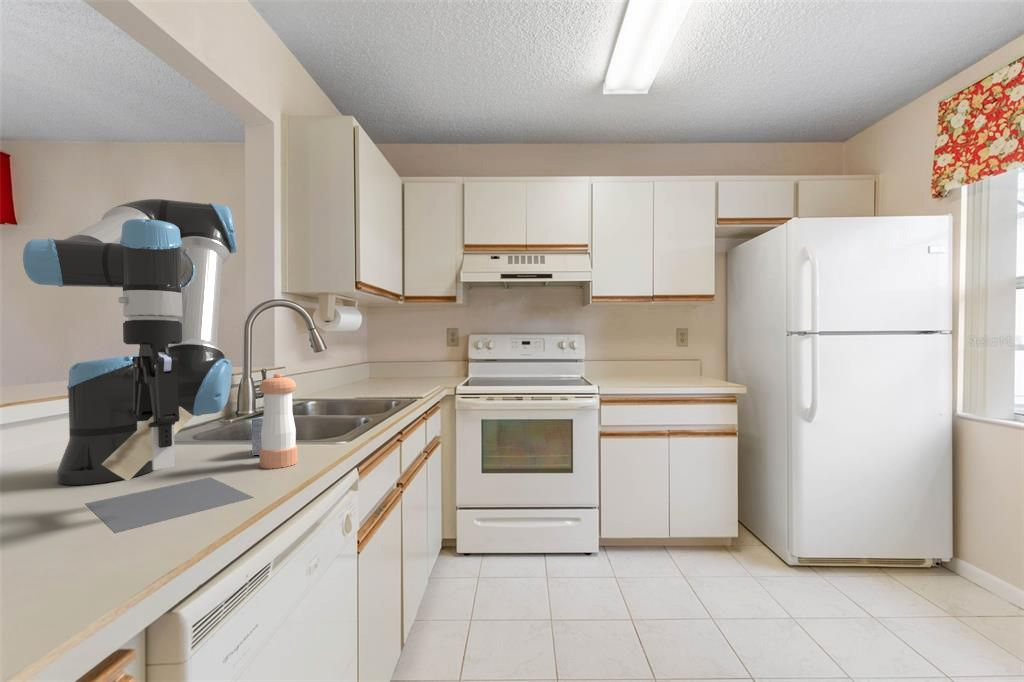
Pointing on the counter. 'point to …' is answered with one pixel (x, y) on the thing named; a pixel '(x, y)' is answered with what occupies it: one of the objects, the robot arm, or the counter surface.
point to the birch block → (138, 449)
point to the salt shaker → (278, 423)
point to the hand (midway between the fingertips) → (155, 463)
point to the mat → (164, 503)
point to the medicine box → (256, 435)
